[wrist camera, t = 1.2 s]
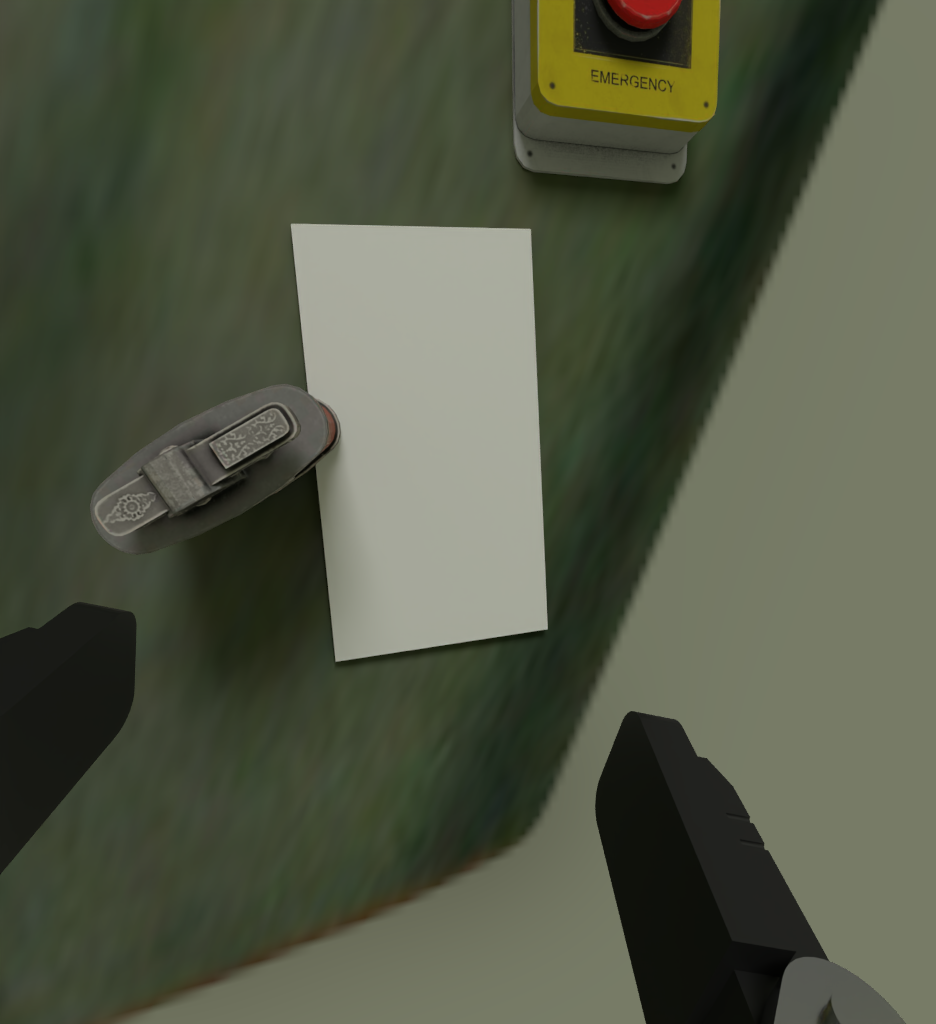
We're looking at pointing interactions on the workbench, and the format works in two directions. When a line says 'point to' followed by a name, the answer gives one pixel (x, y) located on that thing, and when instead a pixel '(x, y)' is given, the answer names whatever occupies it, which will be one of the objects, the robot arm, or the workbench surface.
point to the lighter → (213, 468)
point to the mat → (425, 432)
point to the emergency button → (612, 85)
